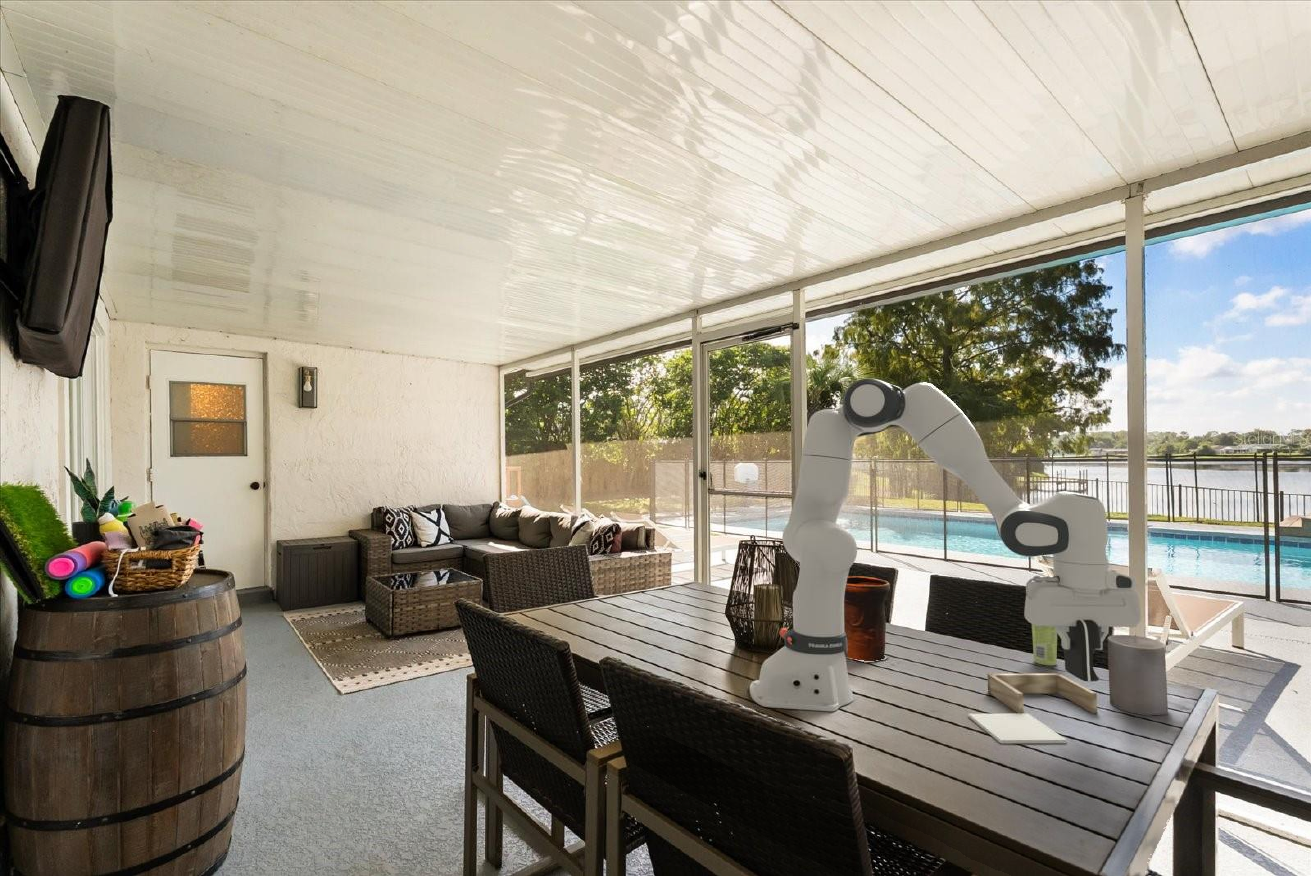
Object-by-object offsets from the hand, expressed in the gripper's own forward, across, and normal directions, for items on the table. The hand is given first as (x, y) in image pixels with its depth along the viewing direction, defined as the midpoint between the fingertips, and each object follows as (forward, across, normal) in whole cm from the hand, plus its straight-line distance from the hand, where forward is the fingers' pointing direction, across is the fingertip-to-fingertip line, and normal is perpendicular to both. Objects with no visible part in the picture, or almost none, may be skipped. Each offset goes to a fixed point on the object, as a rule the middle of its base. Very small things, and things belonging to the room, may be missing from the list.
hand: (1082, 649), depth 119 cm
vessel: (+16, -27, +48) cm, 57 cm away
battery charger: (+6, 0, 0) cm, 6 cm away
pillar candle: (+15, +19, +12) cm, 27 cm away
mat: (+16, -12, +1) cm, 20 cm away
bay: (+15, 0, +14) cm, 21 cm away
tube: (+15, +17, +40) cm, 46 cm away
